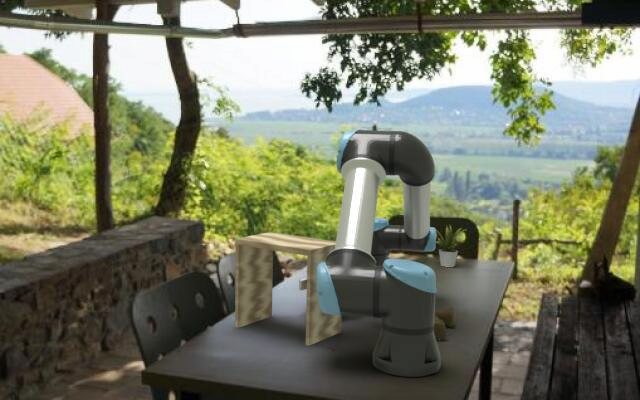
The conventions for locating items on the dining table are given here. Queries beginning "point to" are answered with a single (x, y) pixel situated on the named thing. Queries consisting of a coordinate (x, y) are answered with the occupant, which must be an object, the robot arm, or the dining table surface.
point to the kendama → (443, 322)
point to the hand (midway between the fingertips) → (313, 288)
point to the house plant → (448, 248)
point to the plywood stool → (258, 277)
